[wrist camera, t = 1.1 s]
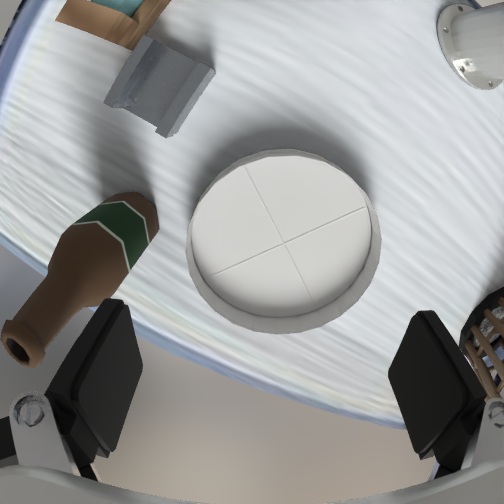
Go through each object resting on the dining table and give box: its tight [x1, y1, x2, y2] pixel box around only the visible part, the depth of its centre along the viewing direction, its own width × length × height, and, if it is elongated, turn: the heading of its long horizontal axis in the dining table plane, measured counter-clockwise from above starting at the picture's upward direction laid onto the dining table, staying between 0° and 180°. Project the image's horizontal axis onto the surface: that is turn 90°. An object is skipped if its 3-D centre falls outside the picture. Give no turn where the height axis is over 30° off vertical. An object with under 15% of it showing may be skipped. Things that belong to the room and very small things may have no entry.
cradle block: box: [104, 35, 216, 138], centre depth 26 cm, size 8×8×5 cm
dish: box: [186, 149, 382, 334], centre depth 35 cm, size 22×22×5 cm
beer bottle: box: [0, 192, 159, 368], centre depth 25 cm, size 8×8×24 cm
